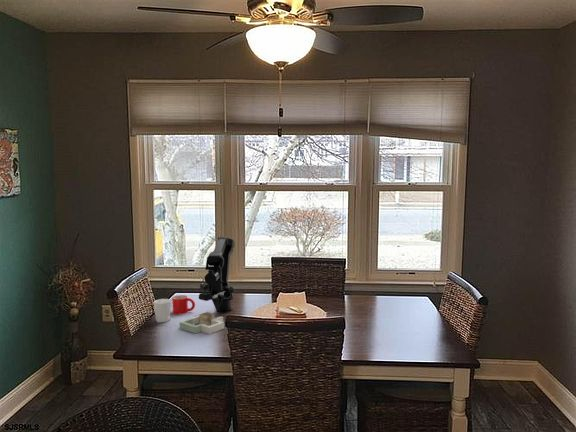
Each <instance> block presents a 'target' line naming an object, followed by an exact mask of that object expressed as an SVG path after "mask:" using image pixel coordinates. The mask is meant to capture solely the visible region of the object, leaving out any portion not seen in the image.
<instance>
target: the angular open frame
mask: <svg viewBox="0 0 576 432" xmlns="http://www.w3.org/2000/svg"><path fill="white" fill-rule="evenodd" d="M179 329H181V330H184V331H187V332H190V333H194V334H198V333H200V332H202V333H206V334H209V335H211V334H213V333H217V332H218V331H221V330H223V329H225V322H224V316H218V317H214V319H212V320H211V325H205V324H202V323H201V324H200V318H199V315H197V316H194V317H190V318H187V319H184V320H182V321H179Z"/></svg>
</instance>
